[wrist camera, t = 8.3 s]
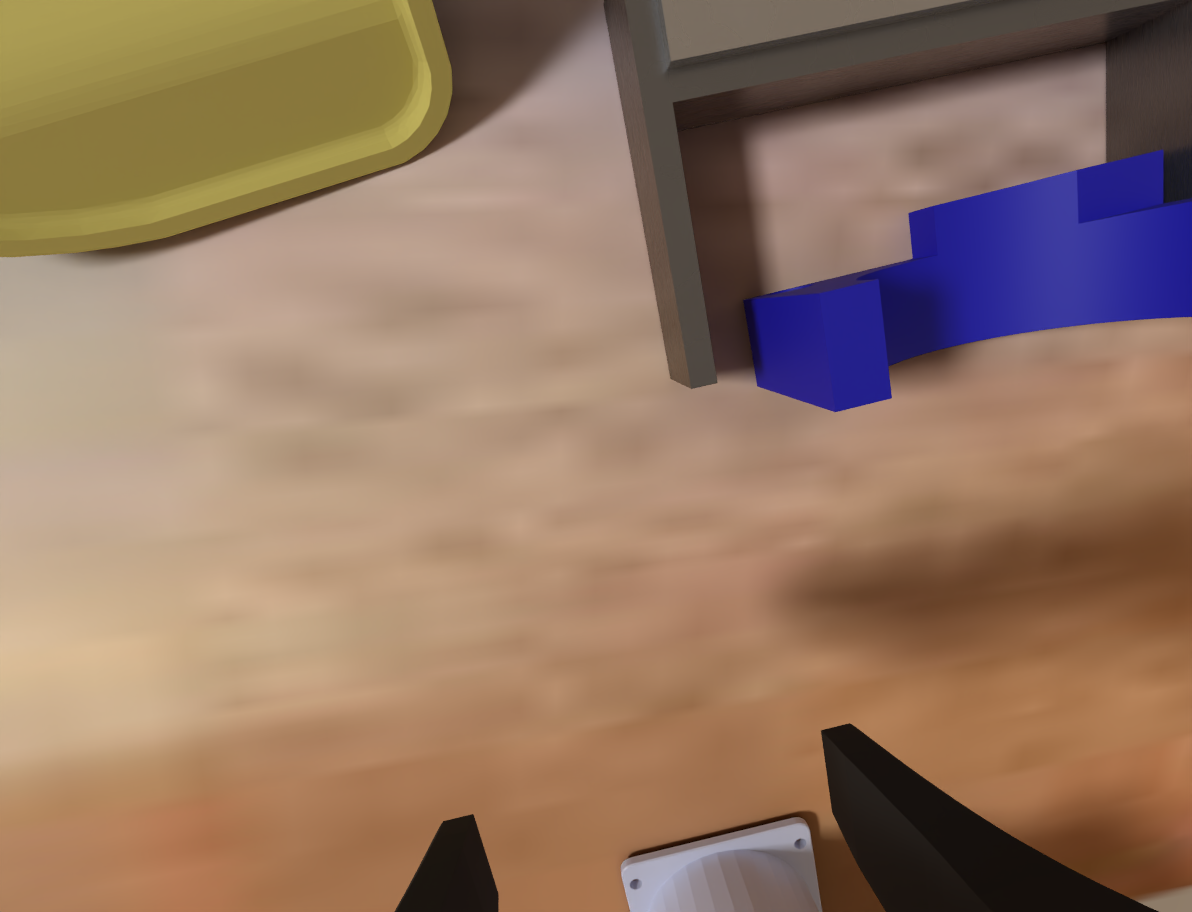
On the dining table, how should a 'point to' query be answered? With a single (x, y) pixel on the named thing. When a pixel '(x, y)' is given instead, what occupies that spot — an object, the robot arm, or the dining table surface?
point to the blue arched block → (983, 281)
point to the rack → (855, 65)
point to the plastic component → (201, 110)
